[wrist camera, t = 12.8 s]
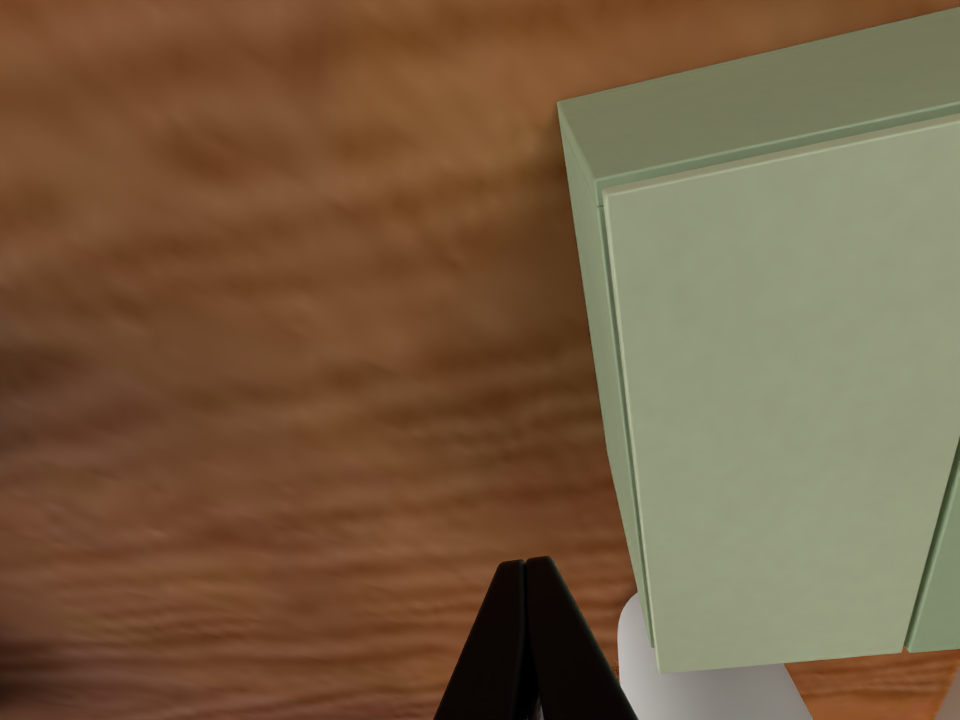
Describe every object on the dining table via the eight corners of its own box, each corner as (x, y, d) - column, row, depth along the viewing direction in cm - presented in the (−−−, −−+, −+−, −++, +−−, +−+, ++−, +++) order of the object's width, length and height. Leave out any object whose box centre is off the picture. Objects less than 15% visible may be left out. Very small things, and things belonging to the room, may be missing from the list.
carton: (607, 455, 24) (656, 675, 16) (556, 101, 17) (599, 192, 9) (947, 406, 22) (1187, 631, 14) (1052, -16, 15) (1646, -27, 7)
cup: (732, 681, 33) (791, 859, 26) (591, 678, 33) (613, 853, 27) (779, 555, 27) (869, 742, 20) (607, 554, 27) (641, 737, 21)
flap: (655, 661, 17) (659, 674, 16) (601, 188, 10) (604, 195, 9) (893, 639, 16) (902, 653, 15) (1030, 97, 9) (1051, 101, 8)
